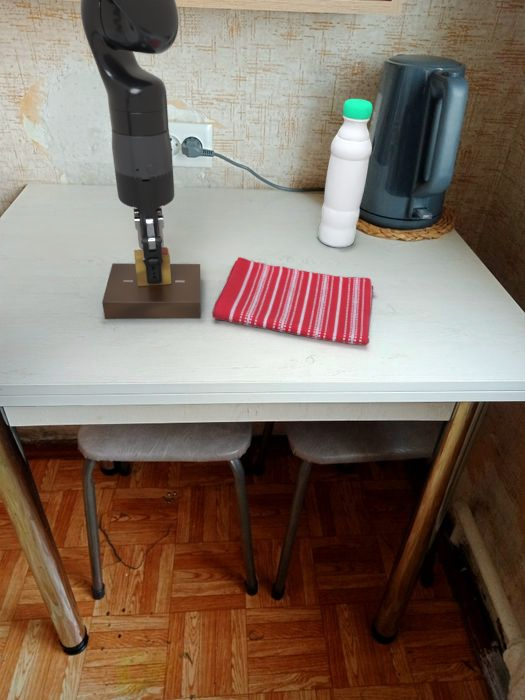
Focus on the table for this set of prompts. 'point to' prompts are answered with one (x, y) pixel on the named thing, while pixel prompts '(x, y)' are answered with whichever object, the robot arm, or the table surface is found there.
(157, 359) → the table surface
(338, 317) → the dish towel
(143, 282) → the yellow milk carton
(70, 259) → the table surface
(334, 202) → the water bottle
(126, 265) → the lock plate
